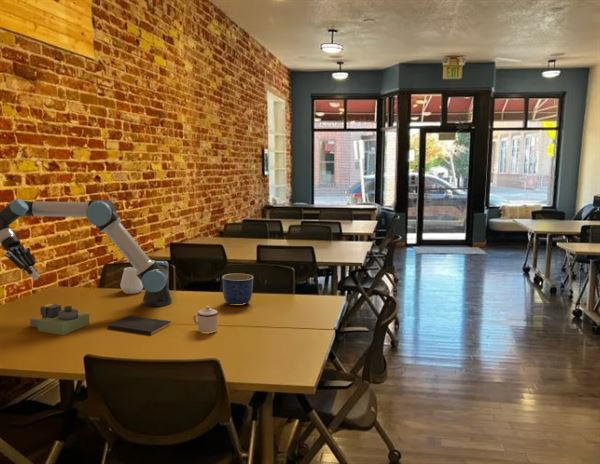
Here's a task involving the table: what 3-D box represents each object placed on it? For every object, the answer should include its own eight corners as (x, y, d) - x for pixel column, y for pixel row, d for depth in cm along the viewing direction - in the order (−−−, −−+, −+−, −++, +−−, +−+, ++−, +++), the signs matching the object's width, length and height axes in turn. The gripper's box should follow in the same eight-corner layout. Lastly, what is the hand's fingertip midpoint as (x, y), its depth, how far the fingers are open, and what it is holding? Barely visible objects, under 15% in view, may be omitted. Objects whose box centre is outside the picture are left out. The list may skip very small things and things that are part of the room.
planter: (236, 298, 281) (237, 272, 279) (259, 303, 272) (259, 276, 270) (215, 304, 268) (215, 276, 266) (238, 310, 258) (238, 282, 256)
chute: (62, 323, 227) (62, 304, 226) (51, 328, 221) (51, 308, 220) (52, 322, 229) (51, 302, 228) (41, 326, 223) (40, 306, 221)
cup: (115, 293, 282) (115, 270, 280) (127, 288, 295) (127, 265, 293) (137, 295, 280) (137, 271, 278) (148, 289, 293) (148, 267, 291)
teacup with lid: (221, 329, 227) (221, 305, 226) (211, 335, 219) (211, 310, 217) (198, 325, 231) (198, 301, 230) (188, 331, 223) (188, 307, 221)
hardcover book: (129, 319, 238) (129, 315, 238) (171, 325, 232) (171, 321, 231) (107, 329, 223) (107, 325, 223) (151, 336, 216) (151, 331, 216)
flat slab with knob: (89, 324, 228) (88, 303, 227) (63, 335, 213) (62, 312, 212) (51, 318, 235) (50, 298, 233) (23, 328, 220) (22, 307, 218)
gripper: (15, 242, 240) (43, 280, 238) (-8, 246, 228) (21, 286, 225) (24, 233, 238) (52, 270, 235) (0, 236, 225) (30, 276, 223)
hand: (37, 278), depth 230 cm, fingers closed
